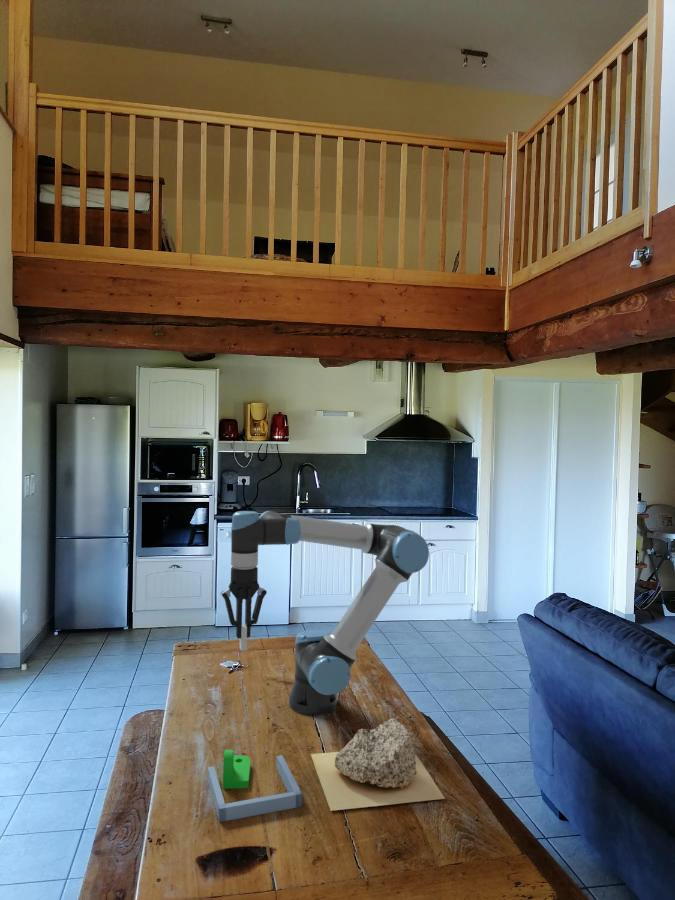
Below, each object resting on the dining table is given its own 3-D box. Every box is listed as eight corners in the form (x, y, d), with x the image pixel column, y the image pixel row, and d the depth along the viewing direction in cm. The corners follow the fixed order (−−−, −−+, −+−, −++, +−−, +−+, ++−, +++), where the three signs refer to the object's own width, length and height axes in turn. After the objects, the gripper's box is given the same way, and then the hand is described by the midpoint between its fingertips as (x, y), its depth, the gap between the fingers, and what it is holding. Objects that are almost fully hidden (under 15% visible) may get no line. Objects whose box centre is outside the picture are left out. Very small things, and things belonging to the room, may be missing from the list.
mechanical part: (248, 788, 152) (248, 756, 152) (223, 789, 152) (223, 756, 152) (250, 762, 164) (251, 732, 164) (227, 763, 164) (228, 732, 164)
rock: (409, 743, 173) (423, 707, 165) (433, 825, 156) (449, 789, 147) (310, 751, 167) (318, 714, 158) (322, 837, 149) (333, 801, 141)
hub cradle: (282, 766, 162) (282, 755, 162) (301, 806, 145) (302, 793, 145) (207, 779, 156) (207, 767, 156) (219, 822, 139) (219, 808, 139)
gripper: (264, 562, 183) (262, 642, 184) (219, 564, 179) (217, 646, 180) (270, 567, 176) (268, 651, 177) (223, 570, 172) (222, 655, 173)
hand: (243, 648), depth 179 cm, fingers closed
